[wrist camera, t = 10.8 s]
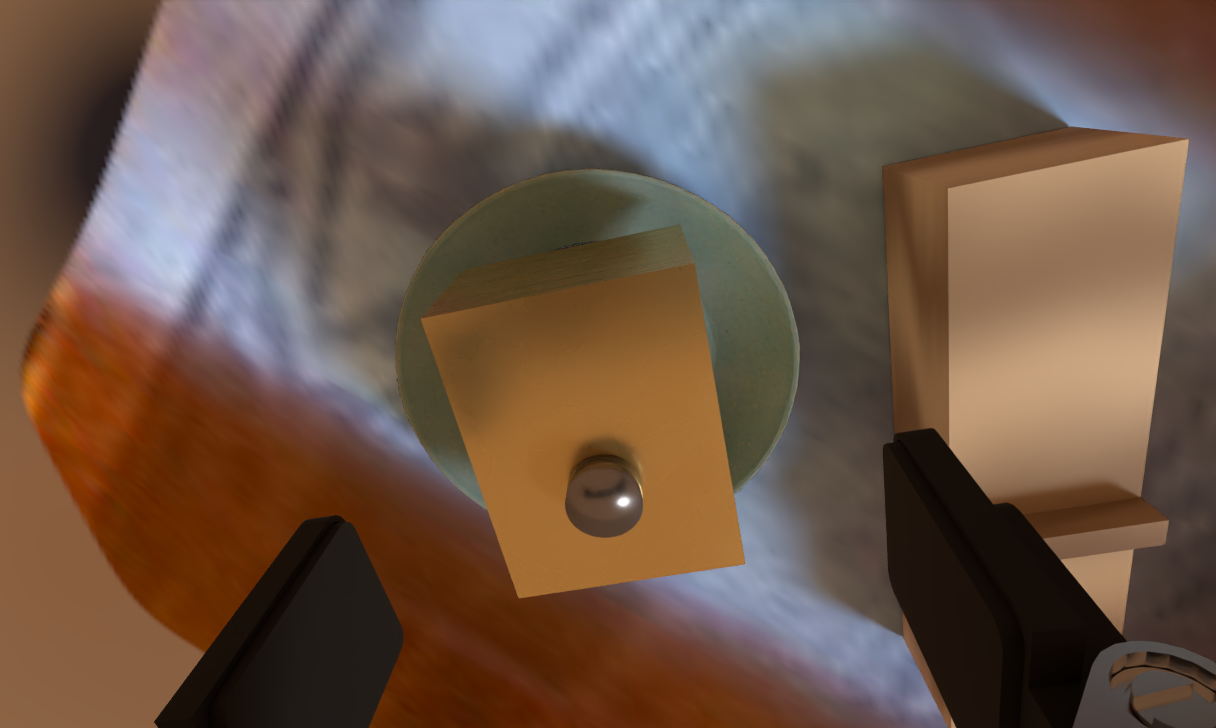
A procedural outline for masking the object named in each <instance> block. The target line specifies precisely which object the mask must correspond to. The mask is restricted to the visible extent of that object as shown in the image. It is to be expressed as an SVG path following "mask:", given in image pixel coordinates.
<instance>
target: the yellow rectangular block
mask: <svg viewBox="0 0 1216 728" xmlns="http://www.w3.org/2000/svg"><path fill="white" fill-rule="evenodd" d="M421 322H422V325H423V327H424V330H425V333H426V336H427V339H428V342H429V344H430V347H431V350H432V353H433V356H434V359H435V362H436V364H437V367H438V370H439V373H440V376H441V379H442V381H443V384H444V387H445V390H446V393H447V396H448V399H449V401H450V404H451V407H452V410H453V413H454V416H455V418H456V421H457V424H458V427H459V430H460V433H461V436H462V438H463V441H464V444H465V447H466V450H467V453H468V455H469V458H470V461H471V464H472V467H473V470H474V473H475V475H476V478H477V481H478V484H479V487H480V490H481V492H482V495H483V498H484V501H485V504H486V507H487V510H488V512H489V515H490V518H491V521H492V524H493V527H494V529H495V532H496V535H497V538H498V541H499V544H500V547H501V549H502V552H503V555H504V558H505V561H506V564H507V566H508V569H509V572H510V575H511V578H512V581H513V584H514V586H515V589H516V592H517V595H518V598H524V597H530V596H537V595H544V594H550V593H557V592H564V591H570V590H577V589H584V588H590V587H597V586H604V585H610V584H617V583H623V582H630V581H637V580H643V579H650V578H657V577H663V576H670V575H677V574H683V573H690V572H697V571H703V570H710V569H716V568H723V567H730V566H736V565H743V564H745V559H744V553H743V547H742V541H741V535H740V529H739V523H738V517H737V511H736V505H735V499H734V494H733V488H732V482H731V476H730V470H729V464H728V458H727V452H726V446H725V440H724V434H723V428H722V422H721V416H720V410H719V404H718V398H717V392H716V386H715V380H714V374H713V368H712V362H711V356H710V350H709V344H708V339H707V333H706V327H705V321H704V315H703V309H702V303H701V297H700V291H699V285H698V279H697V273H696V267H695V262H694V259H693V257H692V254H691V251H690V249H689V246H688V243H687V241H686V238H685V235H684V233H683V230H682V228H681V225H680V224H678V225H673V226H668V227H664V228H659V229H654V230H649V231H645V232H640V233H635V234H630V235H626V236H621V237H616V238H611V239H607V240H602V241H597V242H592V243H588V244H583V245H578V246H573V247H569V248H564V249H559V250H554V251H550V252H545V253H540V254H535V255H531V256H526V257H521V258H516V259H512V260H507V261H502V262H497V263H493V264H488V265H483V266H478V267H474V268H469V269H464V270H463V271H462V272H461V273H460V274H459V275H458V276H457V278H456V279H455V280H454V281H453V282H452V283H451V284H450V286H449V287H448V288H447V289H446V290H445V291H444V292H443V294H442V295H441V296H440V297H439V298H438V299H437V300H436V302H435V303H434V304H433V305H432V306H431V307H430V308H429V310H428V311H427V312H426V313H425V314H424V315H423V317H422V318H421Z"/></svg>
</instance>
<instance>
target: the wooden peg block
mask: <svg viewBox="0 0 1216 728" xmlns="http://www.w3.org/2000/svg"><path fill="white" fill-rule="evenodd" d="M1188 143H1189V139H1186V138H1176V137H1167V136H1157V135H1148V134H1138V133H1128V132H1119V131H1109V130H1099V129H1090V128H1080V127H1067V128H1062V129H1057V130H1052V131H1048V132H1043V133H1038V134H1033V135H1029V136H1024V137H1019V138H1015V139H1010V140H1005V141H1000V142H996V143H991V144H986V145H981V146H977V147H972V148H967V149H962V150H958V151H953V152H948V153H944V154H939V155H934V156H929V157H925V158H920V159H915V160H910V161H906V162H901V163H896V164H891V165H887V166H882V169H883V191H884V213H885V236H886V258H887V280H888V303H889V325H890V348H891V370H892V392H893V415H894V436H895V434H896V433H900V432H907V431H913V430H920V429H927V428H934V429H935V430H936V431H937V432H938V433H939V435H940V436H941V437H942V438H943V440H944V441H945V442H946V444H947V445H948V446H949V448H950V449H951V450H952V451H953V453H954V454H955V455H956V457H957V458H958V459H959V461H960V462H961V463H962V464H963V466H964V467H965V468H966V470H967V471H968V472H969V473H970V475H971V476H972V477H973V479H974V480H975V481H976V483H977V484H978V485H979V486H980V488H981V489H982V490H983V492H984V493H985V494H986V496H987V497H988V498H989V499H990V501H991V502H992V503H993V504H1000V503H1007V502H1008V503H1010V504H1012V505H1014V506H1015V507H1016V508H1017V509H1018V510H1019V511H1021V513H1022V514H1023V515H1024V516H1025V518H1026V519H1027V520H1028V521H1029V522H1030V524H1031V525H1032V526H1033V527H1034V528H1035V530H1036V531H1037V532H1038V533H1039V535H1040V536H1041V537H1042V538H1043V539H1044V541H1045V542H1046V543H1047V544H1048V546H1049V547H1050V548H1051V549H1052V550H1053V552H1054V553H1055V554H1056V555H1057V557H1058V558H1059V559H1060V560H1061V561H1062V563H1063V564H1064V565H1065V566H1066V568H1067V569H1068V570H1069V571H1070V572H1071V574H1072V575H1073V576H1074V577H1075V579H1076V580H1077V581H1078V582H1079V583H1080V585H1081V586H1082V587H1083V588H1084V590H1085V591H1086V592H1087V593H1088V594H1089V596H1090V597H1091V598H1092V599H1093V601H1094V602H1095V603H1096V604H1097V605H1098V607H1099V608H1100V609H1101V610H1102V611H1103V613H1104V614H1105V615H1106V616H1107V618H1108V619H1109V620H1110V621H1111V622H1112V624H1113V625H1114V626H1115V627H1116V629H1117V630H1118V631H1119V632H1120V633H1121V635H1122V632H1123V625H1124V617H1125V610H1126V603H1127V595H1128V588H1129V580H1130V573H1131V566H1132V558H1133V551H1134V549H1139V548H1146V547H1153V546H1160V545H1165V543H1166V537H1167V531H1168V525H1169V520H1168V519H1167V518H1166V517H1165V516H1163V515H1162V514H1161V513H1160V512H1158V511H1157V510H1156V509H1155V508H1154V507H1152V506H1151V505H1150V504H1149V503H1147V502H1146V501H1145V500H1144V499H1142V498H1141V491H1142V484H1143V477H1144V469H1145V462H1146V454H1147V447H1148V440H1149V432H1150V425H1151V417H1152V410H1153V403H1154V395H1155V388H1156V380H1157V373H1158V366H1159V358H1160V351H1161V343H1162V336H1163V329H1164V321H1165V314H1166V306H1167V299H1168V292H1169V284H1170V277H1171V269H1172V262H1173V255H1174V247H1175V240H1176V232H1177V225H1178V218H1179V210H1180V203H1181V195H1182V188H1183V181H1184V173H1185V166H1186V158H1187V151H1188ZM902 616H903V638H904V640H905V642H906V644H907V646H908V648H909V650H910V652H911V654H912V656H913V658H914V660H915V662H916V664H917V666H918V668H919V670H920V672H921V674H922V676H923V678H924V680H925V682H926V684H927V686H928V688H929V690H930V692H931V694H932V696H933V698H934V700H935V702H936V704H937V706H938V708H939V710H940V712H941V714H942V716H943V718H944V720H945V722H946V724H947V726H948V728H956V726H955V724H954V722H953V720H952V718H951V716H950V713H949V711H948V709H947V707H946V705H945V702H944V700H943V698H942V696H941V694H940V692H939V689H938V687H937V685H936V683H935V681H934V678H933V676H932V674H931V672H930V670H929V668H928V665H927V663H926V661H925V659H924V657H923V655H922V652H921V650H920V648H919V646H918V644H917V641H916V639H915V637H914V635H913V633H912V631H911V628H910V626H909V624H908V622H907V620H906V617H905V615H904V613H903V611H902Z"/></svg>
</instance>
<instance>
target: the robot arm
mask: <svg viewBox="0 0 1216 728" xmlns="http://www.w3.org/2000/svg"><path fill="white" fill-rule="evenodd" d="M883 465H884V487H885V509H886V531H887V553H888V571H889V577H890V581H891V585H892V588H893V591H894V593H895V596H896V598H897V600H898V602H899V604H900V607H901V609H902V611H903V613H904V615H905V617H906V620H907V622H908V624H909V626H910V628H911V631H912V633H913V635H914V637H915V639H916V641H917V644H918V646H919V648H920V650H921V652H922V655H923V657H924V659H925V661H926V663H927V665H928V668H929V670H930V672H931V674H932V676H933V678H934V681H935V683H936V685H937V687H938V689H939V692H940V694H941V696H942V698H943V700H944V702H945V705H946V707H947V709H948V711H949V713H950V716H951V718H952V720H953V722H954V724H955V726H956V728H1216V663H1215V662H1213V661H1212V660H1210V659H1207V658H1205V657H1203V656H1200V655H1198V654H1196V653H1193V652H1191V651H1189V650H1187V649H1184V648H1180V647H1176V646H1172V645H1168V644H1164V643H1160V642H1150V641H1129V642H1127V641H1126V640H1125V638H1124V637H1123V636H1122V635H1121V633H1120V632H1119V631H1118V630H1117V629H1116V627H1115V626H1114V625H1113V624H1112V622H1111V621H1110V620H1109V619H1108V618H1107V616H1106V615H1105V614H1104V613H1103V611H1102V610H1101V609H1100V608H1099V607H1098V605H1097V604H1096V603H1095V602H1094V601H1093V599H1092V598H1091V597H1090V596H1089V594H1088V593H1087V592H1086V591H1085V590H1084V588H1083V587H1082V586H1081V585H1080V583H1079V582H1078V581H1077V580H1076V579H1075V577H1074V576H1073V575H1072V574H1071V572H1070V571H1069V570H1068V569H1067V568H1066V566H1065V565H1064V564H1063V563H1062V561H1061V560H1060V559H1059V558H1058V557H1057V555H1056V554H1055V553H1054V552H1053V550H1052V549H1051V548H1050V547H1049V546H1048V544H1047V543H1046V542H1045V541H1044V539H1043V538H1042V537H1041V536H1040V535H1039V533H1038V532H1037V531H1036V530H1035V528H1034V527H1033V526H1032V525H1031V524H1030V522H1029V521H1028V520H1027V519H1026V518H1025V516H1024V515H1023V514H1022V513H1021V511H1019V510H1018V509H1017V508H1016V507H1015V506H1014V505H1012V504H1010V503H1008V502H1007V503H1000V504H993V503H992V502H991V501H990V499H989V498H988V497H987V496H986V494H985V493H984V492H983V490H982V489H981V488H980V486H979V485H978V484H977V483H976V481H975V480H974V479H973V477H972V476H971V475H970V473H969V472H968V471H967V470H966V468H965V467H964V466H963V464H962V463H961V462H960V461H959V459H958V458H957V457H956V455H955V454H954V453H953V451H952V450H951V449H950V448H949V446H948V445H947V444H946V442H945V441H944V440H943V438H942V437H941V436H940V435H939V433H938V432H937V431H936V430H935V429H934V428H927V429H920V430H913V431H907V432H900V433H896V434H895V436H894V443H887V444H884V446H883ZM402 645H403V630H402V627H401V624H400V622H399V620H398V618H397V616H396V614H395V612H394V610H393V607H392V605H391V603H390V601H389V599H388V597H387V595H386V593H385V591H384V588H383V586H382V584H381V582H380V580H379V578H378V576H377V574H376V572H375V569H374V567H373V565H372V563H371V561H370V559H369V557H368V555H367V553H366V550H365V548H364V546H363V544H362V542H361V540H360V538H359V536H358V534H357V532H356V529H355V528H354V526H353V524H351V523H350V522H345V520H344V519H343V518H342V517H340V516H337V515H335V516H328V517H321V518H314V519H309V520H306V521H304V522H303V523H302V524H301V525H300V526H299V528H298V529H297V531H296V532H295V533H294V535H293V536H292V537H291V539H290V540H289V541H288V543H287V544H286V545H285V547H284V548H283V549H282V551H281V552H280V553H279V555H278V556H277V557H276V559H275V560H274V561H273V563H272V564H271V565H270V567H269V568H268V569H267V571H266V572H265V574H264V575H263V576H262V578H261V579H260V580H259V582H258V583H257V584H256V586H255V587H254V588H253V590H252V591H251V592H250V594H249V595H248V596H247V598H246V599H245V600H244V602H243V603H242V604H241V606H240V607H239V608H238V610H237V611H236V612H235V614H234V615H233V616H232V618H231V619H230V621H229V622H228V623H227V625H226V626H225V627H224V629H223V630H222V631H221V633H220V634H219V635H218V637H217V638H216V639H215V641H214V642H213V643H212V645H211V646H210V647H209V649H208V650H207V651H206V653H205V654H204V655H203V657H202V658H201V660H200V661H199V662H198V664H197V665H196V666H195V668H194V669H193V670H192V672H191V673H190V674H189V676H188V677H187V678H186V680H185V681H184V682H183V684H182V685H181V686H180V688H179V689H178V690H177V692H176V693H175V694H174V696H173V697H172V699H171V700H170V701H169V703H168V704H167V705H166V706H165V708H164V709H163V711H162V712H161V713H160V715H159V716H158V717H157V719H156V720H155V721H154V723H155V724H156V725H157V727H158V728H369V725H370V723H371V720H372V718H373V716H374V713H375V711H376V708H377V706H378V704H379V701H380V699H381V696H382V694H383V692H384V689H385V687H386V685H387V682H388V680H389V677H390V675H391V673H392V670H393V668H394V665H395V663H396V661H397V658H398V656H399V653H400V651H401V648H402Z"/></svg>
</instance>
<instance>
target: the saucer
mask: <svg viewBox="0 0 1216 728" xmlns="http://www.w3.org/2000/svg"><path fill="white" fill-rule="evenodd" d="M678 224H680V225H681V228H682V230H683V233H684V235H685V238H686V241H687V243H688V246H689V249H690V251H691V254H692V257H693V259H694V262H695V267H696V273H697V279H698V285H699V291H700V297H701V303H702V309H703V315H704V321H705V327H706V333H707V339H708V344H709V350H710V356H711V362H712V368H713V374H714V380H715V386H716V392H717V398H718V404H719V410H720V416H721V422H722V428H723V434H724V440H725V446H726V452H727V458H728V464H729V470H730V476H731V482H732V488H733V494H735V493H736V492H738V491H740V490H741V489H742V487H743V486H744V485H745V484H746V483H747V482H748V481H749V480H750V479H751V478H752V477H753V476H754V475H755V474H756V473H757V472H758V470H759V469H760V468H761V467H762V465H763V464H764V463H765V461H766V460H767V459H768V457H769V455H770V454H771V452H772V451H773V450H774V448H775V446H776V444H777V442H778V440H779V439H780V437H781V435H782V433H783V431H784V428H785V426H786V424H787V422H788V419H789V417H790V414H791V410H792V407H793V402H794V399H795V395H796V392H797V387H798V377H799V364H800V362H799V361H800V357H799V355H800V354H799V351H800V344H799V339H798V330H797V326H796V322H795V318H794V314H793V310H792V306H791V303H790V301H789V298H788V294H787V292H786V290H785V287H784V285H783V283H782V281H781V279H780V278H779V276H778V274H777V273H776V271H775V268H774V266H773V265H772V264H771V263H770V261H769V260H768V258H767V255H766V254H765V253H764V252H763V251H762V249H761V248H760V247H759V246H758V244H757V243H756V242H755V241H754V239H753V238H752V236H750V235H749V234H747V233H746V231H745V230H744V229H743V228H742V227H741V226H740V225H739V224H738V223H737V222H735V221H734V220H733V219H732V218H731V217H730V216H729V215H728V214H726V213H725V212H723V211H721V210H720V209H718V208H717V207H715V206H714V205H713V204H711V203H709V202H707V201H706V200H704V199H702V198H700V197H699V196H697V195H695V194H693V193H691V192H689V191H687V190H685V189H683V188H680V187H678V186H676V185H674V184H670V183H668V182H665V181H662V180H659V179H656V178H652V177H649V176H648V177H647V176H644V175H640V174H638V173H630V172H624V171H616V170H614V169H608V170H604V169H600V168H597V169H590V168H589V169H584V168H583V169H581V170H565V171H560V172H553V173H549V174H542V175H539V176H538V177H535V178H531V179H526V180H524V181H521V182H519V183H516V184H513V185H511V186H509V187H506V188H504V189H502V190H500V191H498V192H496V193H494V194H493V195H491V196H489V197H488V198H486V199H484V200H483V201H481V202H480V203H478V204H477V205H476V206H473V207H471V209H470V210H469V211H467V212H466V213H465V214H463V215H462V216H461V217H460V218H458V219H457V220H456V221H453V222H452V225H450V226H449V227H448V228H447V229H446V230H444V231H443V234H440V236H439V237H438V238H437V239H436V242H435V243H434V244H433V245H432V246H431V247H430V248H429V249H428V250H427V251H426V254H425V255H424V257H423V258H422V260H421V262H420V264H419V266H418V268H417V270H416V272H415V274H414V275H413V278H412V280H411V282H410V284H409V287H408V289H407V291H406V294H405V297H404V300H403V304H402V307H401V311H400V316H399V319H398V327H397V333H396V371H397V375H398V378H397V381H398V385H399V386H398V388H399V392H400V397H401V398H402V402H403V406H404V409H405V411H406V414H407V416H408V420H409V421H410V423H411V425H412V427H413V429H414V431H415V433H416V435H417V437H418V439H419V441H420V443H421V444H422V446H423V447H424V448H425V450H426V451H427V453H428V454H429V456H430V458H431V459H432V461H433V462H434V463H435V464H436V466H437V467H438V468H439V469H440V470H441V471H442V473H443V474H444V475H445V476H446V477H447V478H448V479H449V480H450V481H451V482H452V483H453V484H454V485H455V486H456V487H457V488H458V489H459V490H460V491H462V492H463V493H464V494H465V495H467V496H468V497H469V498H471V500H473V501H474V502H476V503H477V504H479V505H480V506H481V507H482V508H484V509H486V510H487V507H486V504H485V501H484V498H483V495H482V492H481V490H480V487H479V484H478V481H477V478H476V475H475V473H474V470H473V467H472V464H471V461H470V458H469V455H468V453H467V450H466V447H465V444H464V441H463V438H462V436H461V433H460V430H459V427H458V424H457V421H456V418H455V416H454V413H453V410H452V407H451V404H450V401H449V399H448V396H447V393H446V390H445V387H444V384H443V381H442V379H441V376H440V373H439V370H438V367H437V364H436V362H435V359H434V356H433V353H432V350H431V347H430V344H429V342H428V339H427V336H426V333H425V330H424V327H423V325H422V322H421V318H422V317H423V315H424V314H425V313H426V312H427V311H428V310H429V308H430V307H431V306H432V305H433V304H434V303H435V302H436V300H437V299H438V298H439V297H440V296H441V295H442V294H443V292H444V291H445V290H446V289H447V288H448V287H449V286H450V284H451V283H452V282H453V281H454V280H455V279H456V278H457V276H458V275H459V274H460V273H461V272H462V271H463V270H464V269H469V268H474V267H478V266H483V265H488V264H493V263H497V262H502V261H507V260H512V259H516V258H521V257H526V256H531V255H535V254H540V253H545V252H550V251H553V250H554V249H557V248H560V247H563V246H566V245H570V244H573V243H581V242H597V241H602V240H607V239H611V238H616V237H621V236H626V235H630V234H635V233H640V232H645V231H649V230H654V229H659V228H664V227H668V226H673V225H678ZM487 511H488V510H487Z"/></svg>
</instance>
